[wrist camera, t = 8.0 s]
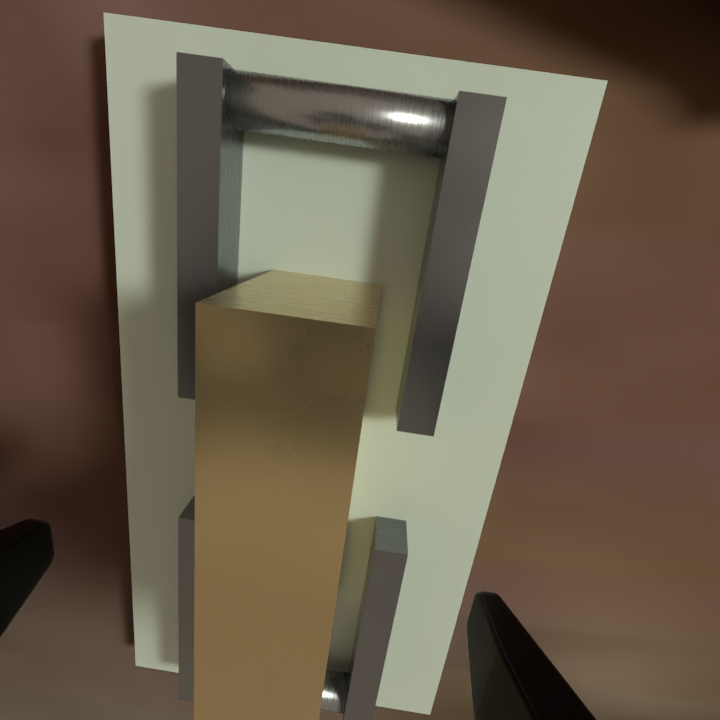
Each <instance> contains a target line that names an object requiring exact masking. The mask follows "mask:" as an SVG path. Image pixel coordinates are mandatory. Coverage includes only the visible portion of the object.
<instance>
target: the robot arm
mask: <svg viewBox="0 0 720 720" xmlns="http://www.w3.org/2000/svg"><path fill="white" fill-rule="evenodd" d="M53 557H54V545H53V537H52V529H51V525H50V524H49V523H48V522H46V521H41V520H35V519H27V520H24V521H21V522H19V523H16V524H14V525H12V526H9V527H7V528H5V529H2V530H0V637H1V635H2V634H3V632H4V631H5V630H6V628H7V627H8V625H9V624H10V623H11V621H12V620H13V618H14V617H15V615H16V614H17V612H18V611H19V609H20V608H21V607H22V605H23V604H24V602H25V601H26V599H27V598H28V596H29V595H30V593H31V592H32V590H33V589H34V588H35V586H36V585H37V583H38V582H39V580H40V579H41V577H42V576H43V574H44V573H45V572H46V570H47V569H48V567H49V566H50V564H51V562H52V560H53ZM467 637H468V649H469V661H470V673H471V685H472V698H473V709H474V719H475V720H596V719H595V717H594V716H593V715H592V714H591V712H590V711H589V710H588V709H587V707H586V706H585V705H584V703H583V702H582V701H581V700H580V698H579V697H578V696H577V694H576V693H575V692H574V691H573V689H572V688H571V687H570V686H569V684H568V683H567V682H566V680H565V679H564V678H563V677H562V675H561V674H560V673H559V671H558V670H557V669H556V668H555V666H554V665H553V664H552V663H551V661H550V660H549V659H548V657H547V656H546V655H545V654H544V652H543V651H542V650H541V648H540V647H539V646H538V645H537V643H536V642H535V641H534V639H533V638H532V637H531V636H530V634H529V633H528V632H527V631H526V629H525V628H524V627H523V625H522V624H521V623H520V622H519V620H518V619H517V618H516V616H515V615H514V614H513V613H512V611H511V610H510V609H509V608H508V606H507V605H506V604H505V602H504V601H503V600H502V599H501V597H500V596H499V595H497V594H496V593H491V592H485V591H478V592H477V593H476V594H475V597H474V600H473V604H472V607H471V611H470V614H469V618H468V622H467Z"/></svg>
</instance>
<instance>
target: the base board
mask: <svg viewBox="0 0 720 720" xmlns="http://www.w3.org/2000/svg"><path fill="white" fill-rule="evenodd" d="M104 32H105V52H106V73H107V93H108V113H109V133H110V154H111V174H112V194H113V214H114V235H115V255H116V275H117V295H118V316H119V336H120V356H121V376H122V397H123V417H124V437H125V457H126V477H127V498H128V518H129V538H130V558H131V579H132V599H133V619H134V639H135V660H136V666H141V667H147V668H153V669H159V670H165V671H171V672H177V673H179V640H178V517H179V516H180V514H181V513H182V512H183V510H184V509H185V507H186V506H187V505H188V503H189V502H190V500H191V499H192V498H193V496H194V495H195V400H192V399H186V398H179V397H178V360H177V79H176V52H181V53H188V54H196V55H203V56H210V57H218V58H223V59H224V60H225V61H226V62H227V63H228V64H229V65H230V66H231V67H232V68H234V69H236V70H244V71H251V72H258V73H266V74H273V75H280V76H287V77H295V78H302V79H309V80H317V81H324V82H331V83H338V84H346V85H353V86H360V87H367V88H375V89H382V90H389V91H397V92H404V93H411V94H418V95H426V96H433V97H440V98H448V99H455V97H456V96H457V94H458V92H459V91H466V92H473V93H481V94H488V95H495V96H502V97H507V100H506V104H505V109H504V114H503V118H502V123H501V128H500V132H499V137H498V141H497V146H496V151H495V155H494V160H493V165H492V169H491V174H490V178H489V183H488V188H487V192H486V197H485V201H484V206H483V211H482V215H481V220H480V225H479V229H478V234H477V238H476V243H475V248H474V252H473V257H472V262H471V266H470V271H469V275H468V280H467V285H466V289H465V294H464V298H463V303H462V308H461V312H460V317H459V322H458V326H457V331H456V335H455V340H454V345H453V349H452V354H451V359H450V363H449V368H448V372H447V377H446V382H445V386H444V391H443V396H442V400H441V405H440V409H439V414H438V419H437V423H436V428H435V432H434V437H433V436H427V435H420V434H414V433H407V432H401V431H397V426H396V404H397V398H398V393H399V387H400V382H401V376H402V370H403V365H404V359H405V354H406V348H407V343H408V337H409V331H410V326H411V320H412V315H413V309H414V304H415V298H416V292H417V287H418V281H419V276H420V270H421V265H422V259H423V253H424V248H425V242H426V237H427V231H428V226H429V220H430V214H431V209H432V203H433V198H434V192H435V187H436V181H437V175H438V170H439V164H440V159H441V158H434V157H427V156H420V155H412V154H405V153H398V152H391V151H384V150H377V149H370V148H362V147H355V146H348V145H341V144H334V143H327V142H320V141H313V140H305V139H298V138H291V137H284V136H277V135H270V134H263V133H256V132H248V131H244V140H243V164H242V188H241V211H240V235H239V259H238V282H237V285H239V284H241V283H243V282H246V281H248V280H251V279H253V278H255V277H258V276H260V275H262V274H265V273H267V272H269V271H272V270H281V271H288V272H296V273H303V274H310V275H317V276H324V277H331V278H338V279H346V280H353V281H360V282H367V283H374V284H381V292H380V300H379V308H378V316H377V324H376V331H375V338H374V345H373V352H372V359H371V366H370V372H369V379H368V386H367V393H366V400H365V407H364V414H363V421H362V427H361V434H360V441H359V448H358V455H357V462H356V469H355V475H354V482H353V489H352V496H351V503H350V510H349V517H348V524H347V530H346V537H345V544H344V551H343V558H342V565H341V572H340V579H339V585H338V592H337V599H336V606H335V613H334V620H333V627H332V633H331V640H330V647H329V654H328V661H327V668H326V669H329V670H335V671H341V672H347V673H348V671H349V666H350V660H351V655H352V649H353V643H354V638H355V632H356V627H357V621H358V616H359V610H360V604H361V599H362V593H363V588H364V582H365V577H366V571H367V565H368V560H369V554H370V549H371V543H372V538H373V532H374V526H375V521H376V516H379V517H386V518H392V519H398V520H405V521H406V526H407V544H408V557H407V562H406V566H405V571H404V576H403V580H402V585H401V590H400V594H399V599H398V603H397V608H396V613H395V617H394V622H393V627H392V631H391V636H390V640H389V645H388V650H387V654H386V659H385V663H384V668H383V673H382V677H381V682H380V687H379V691H378V696H377V700H376V705H375V706H381V707H387V708H393V709H399V710H404V711H410V712H416V713H422V714H428V715H430V713H431V709H432V706H433V702H434V699H435V695H436V692H437V688H438V684H439V681H440V677H441V674H442V670H443V667H444V663H445V659H446V656H447V652H448V649H449V645H450V642H451V638H452V634H453V631H454V627H455V624H456V620H457V617H458V613H459V609H460V606H461V602H462V599H463V595H464V592H465V588H466V585H467V581H468V577H469V574H470V570H471V567H472V563H473V560H474V556H475V552H476V549H477V545H478V542H479V538H480V535H481V531H482V527H483V524H484V520H485V517H486V513H487V510H488V506H489V503H490V499H491V495H492V492H493V488H494V485H495V481H496V478H497V474H498V470H499V467H500V463H501V460H502V456H503V453H504V449H505V445H506V442H507V438H508V435H509V431H510V428H511V424H512V420H513V417H514V413H515V410H516V406H517V403H518V399H519V396H520V392H521V388H522V385H523V381H524V378H525V374H526V371H527V367H528V363H529V360H530V356H531V353H532V349H533V346H534V342H535V338H536V335H537V331H538V328H539V324H540V321H541V317H542V313H543V310H544V306H545V303H546V299H547V296H548V292H549V289H550V285H551V281H552V278H553V274H554V271H555V267H556V264H557V260H558V256H559V253H560V249H561V246H562V242H563V239H564V235H565V231H566V228H567V224H568V221H569V217H570V214H571V210H572V206H573V203H574V199H575V196H576V192H577V189H578V185H579V182H580V178H581V174H582V171H583V167H584V164H585V160H586V157H587V153H588V149H589V146H590V142H591V139H592V135H593V132H594V128H595V124H596V121H597V117H598V114H599V110H600V107H601V103H602V99H603V96H604V92H605V89H606V85H607V82H608V81H605V80H598V79H591V78H583V77H576V76H568V75H561V74H554V73H546V72H539V71H532V70H524V69H517V68H509V67H502V66H495V65H487V64H480V63H472V62H465V61H458V60H450V59H443V58H436V57H428V56H421V55H413V54H406V53H399V52H391V51H384V50H377V49H369V48H362V47H354V46H347V45H340V44H332V43H325V42H317V41H310V40H303V39H295V38H288V37H281V36H273V35H266V34H258V33H251V32H244V31H236V30H229V29H222V28H214V27H207V26H199V25H192V24H185V23H177V22H170V21H162V20H155V19H148V18H140V17H133V16H126V15H118V14H111V13H104Z"/></svg>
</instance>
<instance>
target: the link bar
mask: <svg viewBox="0 0 720 720" xmlns="http://www.w3.org/2000/svg"><path fill="white" fill-rule="evenodd" d="M380 292H381V284H374V283H367V282H360V281H353V280H346V279H338V278H331V277H324V276H317V275H310V274H303V273H296V272H288V271H281V270H272V271H269V272H267V273H265V274H262V275H260V276H258V277H255V278H253V279H251V280H248V281H246V282H243V283H241V284H239V285H236V286H234V287H232V288H229V289H227V290H224V291H222V292H220V293H217V294H215V295H213V296H210V297H208V298H205V299H203V300H201V301H198V302H196V303H195V566H194V720H319V716H320V709H321V702H322V695H323V688H324V682H325V675H326V668H327V661H328V654H329V647H330V640H331V633H332V627H333V620H334V613H335V606H336V599H337V592H338V585H339V579H340V572H341V565H342V558H343V551H344V544H345V537H346V530H347V524H348V517H349V510H350V503H351V496H352V489H353V482H354V475H355V469H356V462H357V455H358V448H359V441H360V434H361V427H362V421H363V414H364V407H365V400H366V393H367V386H368V379H369V372H370V366H371V359H372V352H373V345H374V338H375V331H376V324H377V316H378V308H379V300H380Z"/></svg>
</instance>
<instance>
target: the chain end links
mask: <svg viewBox="0 0 720 720" xmlns="http://www.w3.org/2000/svg"><path fill="white" fill-rule="evenodd" d="M176 79H177V360H178V397H179V398H186V399H192V400H195V303H196V302H198V301H201V300H203V299H205V298H208V297H210V296H213V295H215V294H217V293H220V292H222V291H224V290H227V289H229V288H232V287H234V286H236V285H237V282H238V259H239V235H240V211H241V188H242V164H243V140H244V131H248V132H256V133H263V134H270V135H277V136H284V137H291V138H298V139H305V140H313V141H320V142H327V143H334V144H341V145H348V146H355V147H362V148H370V149H377V150H384V151H391V152H398V153H405V154H412V155H420V156H427V157H434V158H441V159H440V164H439V170H438V175H437V181H436V187H435V192H434V198H433V203H432V209H431V214H430V220H429V226H428V231H427V237H426V242H425V248H424V253H423V259H422V265H421V270H420V276H419V281H418V287H417V292H416V298H415V304H414V309H413V315H412V320H411V326H410V331H409V337H408V343H407V348H406V354H405V359H404V365H403V370H402V376H401V382H400V387H399V393H398V398H397V404H396V426H397V431H401V432H407V433H414V434H420V435H427V436H433V437H434V432H435V428H436V423H437V419H438V414H439V409H440V405H441V400H442V396H443V391H444V386H445V382H446V377H447V372H448V368H449V363H450V359H451V354H452V349H453V345H454V340H455V335H456V331H457V326H458V322H459V317H460V312H461V308H462V303H463V298H464V294H465V289H466V285H467V280H468V275H469V271H470V266H471V262H472V257H473V252H474V248H475V243H476V238H477V234H478V229H479V225H480V220H481V215H482V211H483V206H484V201H485V197H486V192H487V188H488V183H489V178H490V174H491V169H492V165H493V160H494V155H495V151H496V146H497V141H498V137H499V132H500V128H501V123H502V118H503V114H504V109H505V104H506V100H507V97H502V96H495V95H488V94H481V93H473V92H466V91H459V92H458V94H457V96H456V97H455V99H448V98H440V97H433V96H426V95H418V94H411V93H404V92H397V91H389V90H382V89H375V88H367V87H360V86H353V85H346V84H338V83H331V82H324V81H317V80H309V79H302V78H295V77H287V76H280V75H273V74H266V73H258V72H251V71H244V70H236V69H234V68H232V67H231V66H230V65H229V64H228V63H227V62H226V61H225V60H224V59H223V58H218V57H210V56H203V55H196V54H188V53H181V52H176ZM407 557H408V544H407V526H406V521H405V520H398V519H392V518H386V517H379V516H376V521H375V526H374V532H373V538H372V543H371V549H370V554H369V560H368V565H367V571H366V577H365V582H364V588H363V593H362V599H361V604H360V610H359V616H358V621H357V627H356V632H355V638H354V643H353V649H352V655H351V660H350V666H349V671H348V673H347V672H341V671H335V670H329V669H326V675H325V682H324V688H323V695H322V702H321V709H320V710H325V711H331V712H337V713H343V720H372V719H373V714H374V710H375V705H376V700H377V696H378V691H379V687H380V682H381V677H382V673H383V668H384V663H385V659H386V654H387V650H388V645H389V640H390V636H391V631H392V627H393V622H394V617H395V613H396V608H397V603H398V599H399V594H400V590H401V585H402V580H403V576H404V571H405V566H406V562H407ZM194 566H195V495H194V496H193V498H192V499H191V500H190V502H189V503H188V505H187V506H186V507H185V509H184V510H183V512H182V513H181V514H180V516H179V517H178V640H179V699H183V700H189V701H194Z"/></svg>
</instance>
